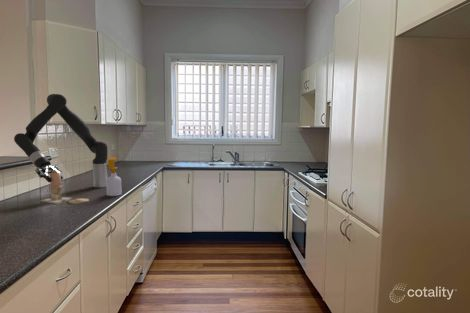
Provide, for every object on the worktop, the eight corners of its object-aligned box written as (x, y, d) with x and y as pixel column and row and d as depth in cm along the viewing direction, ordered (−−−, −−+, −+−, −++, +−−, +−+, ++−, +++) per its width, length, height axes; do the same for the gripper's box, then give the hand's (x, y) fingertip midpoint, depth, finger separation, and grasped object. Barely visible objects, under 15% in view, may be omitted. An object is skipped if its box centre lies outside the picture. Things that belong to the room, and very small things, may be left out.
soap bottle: (124, 193, 203) (122, 156, 200) (117, 196, 194) (116, 158, 191) (111, 193, 204) (109, 156, 201) (104, 196, 195) (102, 158, 192)
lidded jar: (55, 186, 185) (55, 170, 184) (64, 186, 184) (63, 170, 183) (47, 188, 179) (46, 171, 178) (56, 189, 178) (55, 172, 176)
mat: (77, 198, 187) (77, 197, 187) (93, 199, 185) (93, 199, 185) (63, 203, 177) (63, 202, 177) (79, 204, 174) (79, 203, 174)
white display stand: (56, 197, 189) (55, 185, 189) (72, 199, 187) (72, 186, 186) (39, 202, 178) (39, 189, 177) (56, 203, 175) (56, 190, 174)
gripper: (32, 157, 175) (50, 178, 173) (53, 155, 188) (69, 174, 187) (25, 166, 176) (42, 186, 175) (46, 163, 190) (62, 182, 189)
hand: (56, 180), depth 181 cm, fingers open, 8 cm apart
